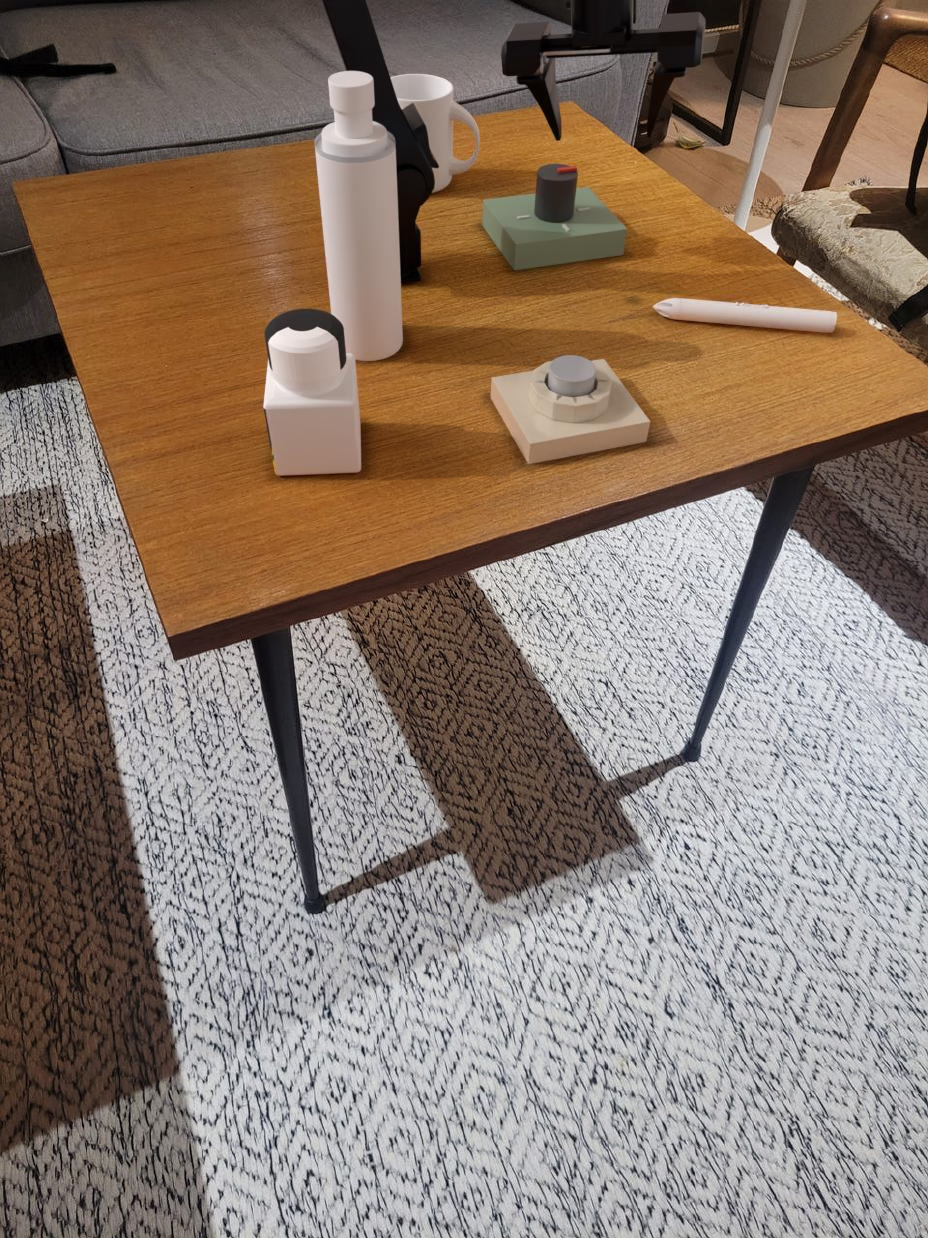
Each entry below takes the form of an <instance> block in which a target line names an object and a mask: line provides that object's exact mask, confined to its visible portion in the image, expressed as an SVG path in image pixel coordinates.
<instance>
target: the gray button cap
mask: <svg viewBox="0 0 928 1238" xmlns="http://www.w3.org/2000/svg"><path fill="white" fill-rule="evenodd" d="M551 361H552V362H551V363H550V366H549V375H548V387H549V389H550V390H551V391H553V392H555V393H556V394H558V395H560V396H567V397H579V396H585V395H589V394H590V393H591V392H592V391H593V389H594V383H595V376H596V367H595V365H594V364H593V363H592V362H591V361H592V360H590V359H588V358H586V357H584V356H580V355H573V354H566V355H561V356H558V357H555V358H554V359H553V360H551Z"/></svg>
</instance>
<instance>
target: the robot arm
mask: <svg viewBox="0 0 928 1238" xmlns="http://www.w3.org/2000/svg"><path fill="white" fill-rule="evenodd" d="M320 1H321V4H322V7H323V11H324V14H325V16H326V18H327V22H328V24H329V28H330V30H331V33H332V36H333V39H334V41H335V44H336V47H337V50H338V53H339V55H340V58H341V61H342V64H343V67H344V70H345V71H360V72H364V73H367V74H369V75H371V76H372V77H373V81H374V101H375V104H374V107H373V108H372V121H374V122H377V123H379V124H381V125H383V126H384V127H385V128H386V130H387V131H388V132H390V133H391V134H392V135H393V136H394V138H395V143H394V144H395V148H396V172H397V196H398V222H399V249H400V276H401V285H403V284H409V283H410V284H411V283H417V282H418V283H419V282H421V281H422V273H421V272H420V271H419V269H420V268H421V266H422V230H421V229H420V227H419V226H418V223H417V222H416V221H417V219H418V218H417V217H418V215H419V212H420V209H421V207H422V206H423V205H424V204H425V203H426V202H427V201H428V200H429V198H430V197H431V195H432V194H433V193H432V191H433V190H434V187H435V178H434V172H433V170H432V168H439V165H438V163H437V161H436V159H435V157H434V155H433V153H432V151H431V149H430V147H429V139H428V133H427V128H426V125H425V123H424V121H423V119H422V117H421V116H420V114H419V112H418V110H417V108H416V106H415V104H414V103H411V104H410V105H408V106H407V107H405V108H403V109H401V107H400V105H399V103H398V100H397V97H396V94H395V91H394V88H393V84H392V81H391V78H390V77H391V75H390V73H389V69H388V65H387V62H386V60H385V56H384V53H383V50H382V47H381V45H380V40H379V38H378V35H377V32H376V28H375V25H374V22H373V19H372V15H371V12H370V9H369V7H368V3H367V0H320ZM563 4H564V8H565V10H570V19H571V20H570V21H571V22H570V23H571V33H558V34H552V28H551V24H550V21H537V22H536V21H534V22H520V23H519V22H517V23H514V25H513V26H512V27H511V28H510V30H509V31H508V33H507V35H506V36H505V40H504V41H503V43H502V45H501V51H500V60H501V70H502V75H503V76H505V77H516V78H515V79H516V84H517V85H519V86H526V88H527V89H528V91H529V92H530V93H531V95H532V97H533V99H534V100H535V101H536V103H537V104H538V106H539V108H540V110H541V111H542V114H543V116H544V117H545V120H546V122H547V124H548V127H549V128H550V130H551V133H552V134H553V136H554V139H555V141H556V142H560V141H561V139H562V135H563V134H562V132H563V131H562V115H561V108H560V101H559V93H558V87H557V78H556V59H560V58H562V59H563V58H578V57H579V58H580V57H600V56H615V55H617V56H618V55H638V54H639V55H640V54H653V53H654V54H655V53H656V54H657V55H656V57H657V58H656V63H655V66H654V71H653V75H652V84H651V89H650V99H649V105H648V112H647V119H646V138H647V139H651V138H652V135H653V132H654V129H655V126H656V122H657V120H658V117H659V114H660V111H661V108H662V105H663V103H664V100H665V99H666V96H667V94H668V92H669V90H670V88H671V86H672V84H673V82H674V80H675V79H676V78H683V77H685V76H686V75H687V71H688V68H696V67H698V66H701V64H702V59H703V58H702V57H703V53H704V46H705V40H706V39H705V38H706V18H705V16H704V15H703V14H702V13H701V11H695V12H693V11H692V12H679V13H678V12H677V13H663V15H662V19H661V23H660V26H659V27H658V28H657V27H655V28H639V29H634V25H635V24H636V23H637V21H638V0H564V3H563ZM390 139H391V138H390ZM391 140H392V139H391ZM392 141H393V140H392ZM393 142H394V141H393Z"/></svg>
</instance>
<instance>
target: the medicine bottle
mask: <svg viewBox="0 0 928 1238" xmlns="http://www.w3.org/2000/svg"><path fill="white" fill-rule="evenodd" d="M263 336H264V341H265V346H266V352H267V367H266V377H265V385H264V396H263V406H262V407H263V414H264V419H265V424H266V428H267V429H266V430H267V436H268V441H269V447H270V452H271V458H272V464H273V470H274V473H275V475H276V476H279V477H282V476H305V475H307V476H308V475H329V474H331V475H332V474H354V473H359V472H361V471H362V431H361V429H362V428H361V426H362V425H361V411H360V400H359V387H358V374H357V363H356V362H357V360H355V356H354V355H353V354H352V353H346V347H345V336H344V327H343V325H342V323H341V322H340V321H339V320H338V319H337V318H336V317H335V316H334V315H332V314H331V312H328V311H326V310H321V309H317V308H297V309H292V310H287V311H285V312H283V313H282V312H281V313H280V314H278V315H276V316H275V317H273V318H272V319H271V320H270V321H269V323H268V324H267V326H266V327H265V329H264V335H263Z"/></svg>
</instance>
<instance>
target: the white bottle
mask: <svg viewBox="0 0 928 1238" xmlns="http://www.w3.org/2000/svg"><path fill="white" fill-rule="evenodd" d="M327 82H328V83H327V85H328V95H329V105H330V108H331V109H332V110H333V117H334V121H333V122H330V123H328V124H326V125H325V126H324V127H323V128H322V130H321V132H320V133H318V134H317V136H316V137H315V138H314V152H315V153H314V154H315V162H316V173H317V184H318V193H319V194H318V195H319V203H320V204H319V205H320V214H321V225H322V234H323V246H324V254H325V255H324V256H325V265H326V275H327V284H328V285H327V286H328V294H329V304H330V314H332V315H334V316H335V317H336V318H337V319H338V320H339V321H340V322H341V323H342V325H343V327H344V336H345V347H346V353H352V354H353V355H354V356H355V361H360V362H375V361H381V360H385V359H388V358H390V357H392V356H393V355H395V354H397V352H399V351H400V349H401V348H402V346H403V341H404V334H403V333H404V331H403V311H402V310H403V307H402V304H403V303H402V284H401V276H400V249H399V222H398V196H397V172H396V148H395V144H394V143H395V138H394V136H393V135H392V134H391V133H390V132H388V131H387V130H386V128H385V127H384V126H383V125H381V124H379V123H377V122H374V121H372V108H373V107H374V104H375V101H374V81H373V77H372V76H371V75H369V74H367V73H364V72H360V71H346V70H345V71H343V70H342V71H338V72H335V73H333V74H331V75H330V76H329V77H328V78H327ZM390 138H391V139H392V140H393V141H394V142H393V141H392V140H391V139H390Z"/></svg>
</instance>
